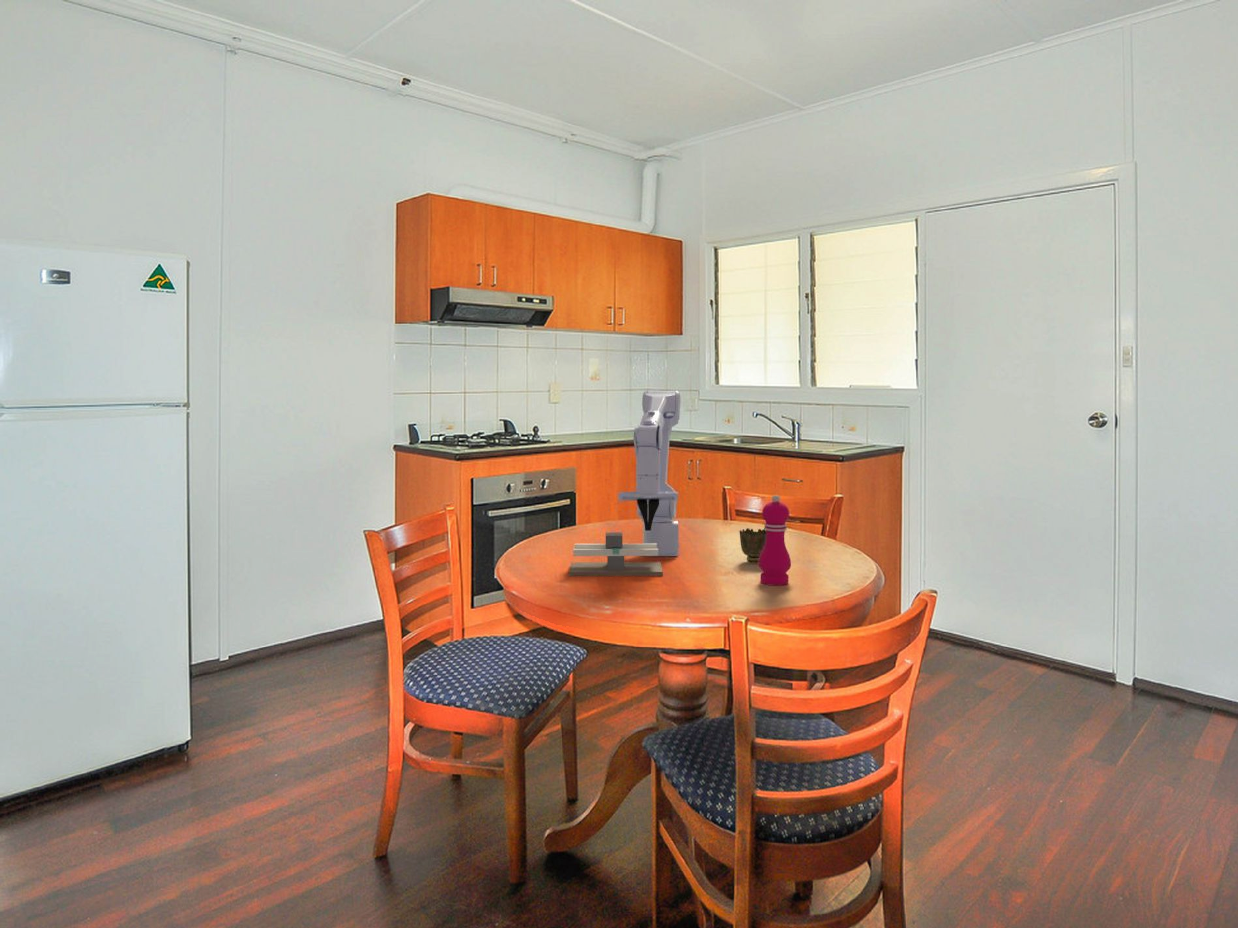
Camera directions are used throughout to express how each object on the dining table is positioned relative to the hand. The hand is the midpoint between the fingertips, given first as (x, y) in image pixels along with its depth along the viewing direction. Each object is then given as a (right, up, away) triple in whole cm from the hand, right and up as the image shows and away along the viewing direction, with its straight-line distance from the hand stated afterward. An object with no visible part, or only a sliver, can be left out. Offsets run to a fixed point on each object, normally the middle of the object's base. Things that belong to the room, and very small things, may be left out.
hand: (647, 529), depth 191 cm
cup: (+27, -9, +7) cm, 29 cm away
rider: (-8, -5, -3) cm, 10 cm away
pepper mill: (+28, -11, -13) cm, 33 cm away
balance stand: (-8, -10, -3) cm, 13 cm away
